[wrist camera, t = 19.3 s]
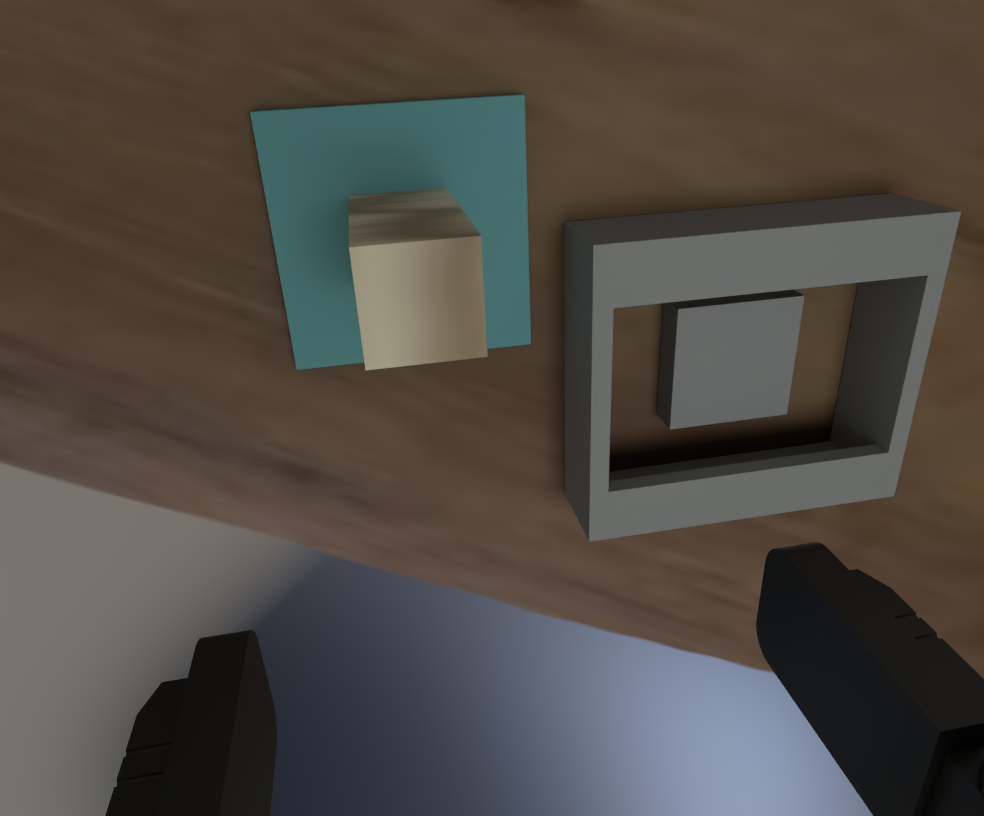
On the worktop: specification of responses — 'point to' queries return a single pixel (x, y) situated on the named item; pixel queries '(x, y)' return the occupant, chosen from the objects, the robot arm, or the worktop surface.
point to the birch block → (416, 278)
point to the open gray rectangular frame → (749, 350)
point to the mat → (381, 169)
